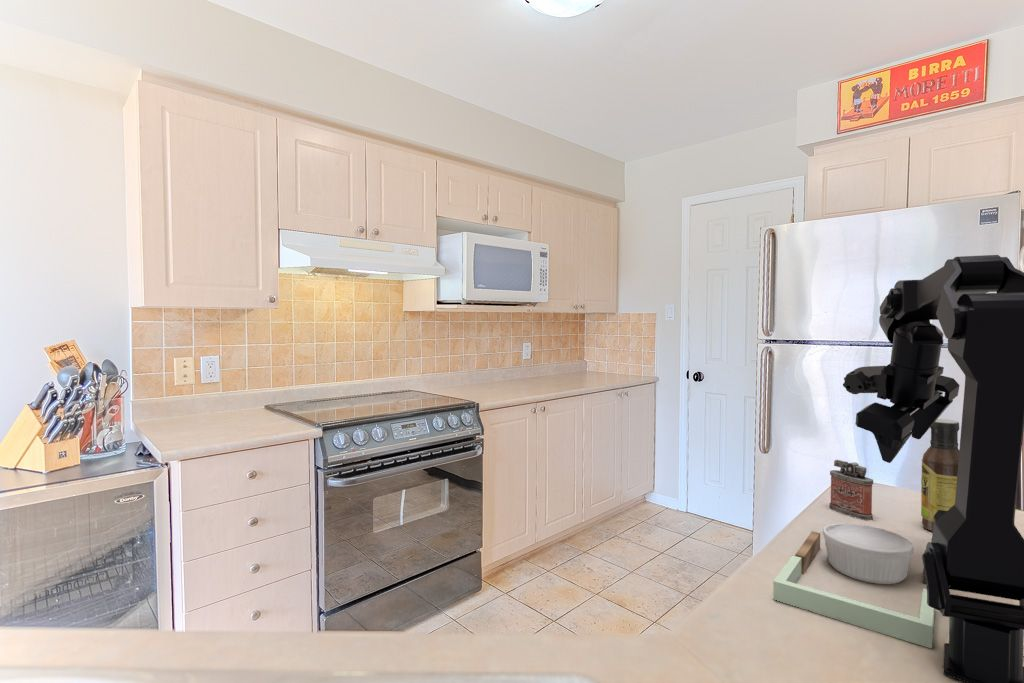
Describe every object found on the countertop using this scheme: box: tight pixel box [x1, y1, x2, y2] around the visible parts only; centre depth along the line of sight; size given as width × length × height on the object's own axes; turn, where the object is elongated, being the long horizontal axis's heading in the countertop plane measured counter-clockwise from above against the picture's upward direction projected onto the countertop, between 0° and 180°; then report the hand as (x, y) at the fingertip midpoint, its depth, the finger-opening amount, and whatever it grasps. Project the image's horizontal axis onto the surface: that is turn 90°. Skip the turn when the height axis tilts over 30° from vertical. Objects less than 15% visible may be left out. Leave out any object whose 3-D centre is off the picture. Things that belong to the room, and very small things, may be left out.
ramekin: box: [822, 523, 914, 585], centre depth 78 cm, size 11×11×5 cm
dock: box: [772, 555, 936, 650], centre depth 68 cm, size 10×16×2 cm, turn 50°
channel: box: [794, 531, 926, 585], centre depth 77 cm, size 12×16×3 cm
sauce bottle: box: [920, 418, 960, 533], centre depth 93 cm, size 6×6×20 cm
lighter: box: [828, 459, 874, 521], centre depth 103 cm, size 8×3×10 cm, turn 22°
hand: (901, 449), depth 84 cm, fingers open, 9 cm apart
